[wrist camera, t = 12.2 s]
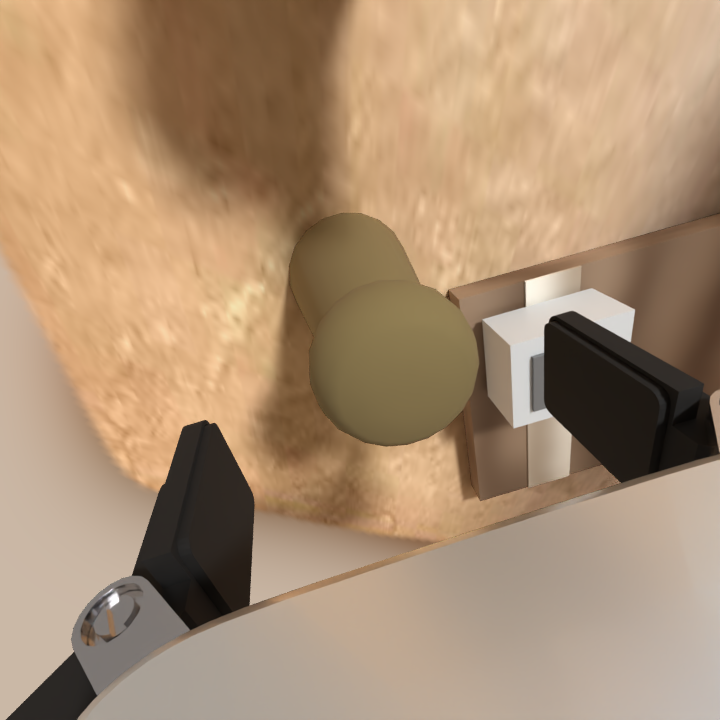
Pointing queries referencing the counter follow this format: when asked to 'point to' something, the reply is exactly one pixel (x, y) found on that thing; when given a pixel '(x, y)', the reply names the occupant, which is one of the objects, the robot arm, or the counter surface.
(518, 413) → the white box with button
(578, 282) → the board
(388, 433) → the olive pawn figure
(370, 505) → the counter surface
